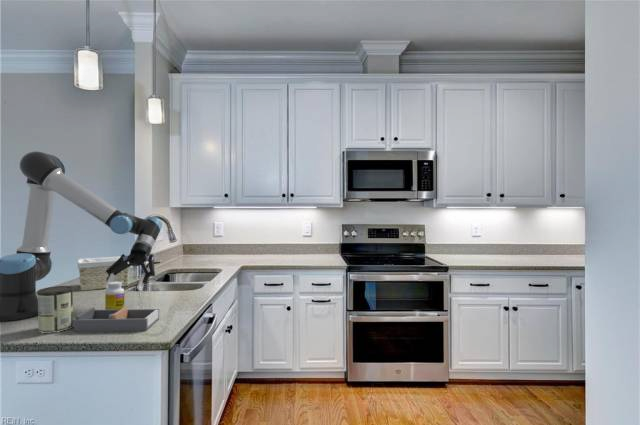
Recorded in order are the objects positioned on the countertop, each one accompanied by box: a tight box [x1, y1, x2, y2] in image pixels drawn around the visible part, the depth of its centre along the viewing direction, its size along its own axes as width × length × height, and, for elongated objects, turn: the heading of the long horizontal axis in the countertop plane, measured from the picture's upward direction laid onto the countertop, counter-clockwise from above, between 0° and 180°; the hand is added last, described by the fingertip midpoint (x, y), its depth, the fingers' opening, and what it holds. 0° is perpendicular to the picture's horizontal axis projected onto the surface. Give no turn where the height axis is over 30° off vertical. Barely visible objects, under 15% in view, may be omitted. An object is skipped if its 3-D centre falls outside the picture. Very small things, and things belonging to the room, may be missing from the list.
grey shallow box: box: [73, 307, 160, 333], centre depth 141 cm, size 24×13×5 cm, turn 94°
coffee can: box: [36, 285, 74, 334], centre depth 136 cm, size 10×10×14 cm
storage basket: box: [76, 255, 130, 292], centre depth 204 cm, size 24×16×15 cm
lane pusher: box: [109, 306, 129, 319], centre depth 140 cm, size 4×10×4 cm, turn 4°
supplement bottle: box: [104, 282, 125, 310], centre depth 153 cm, size 7×7×13 cm
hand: (122, 289), depth 156 cm, fingers open, 13 cm apart
